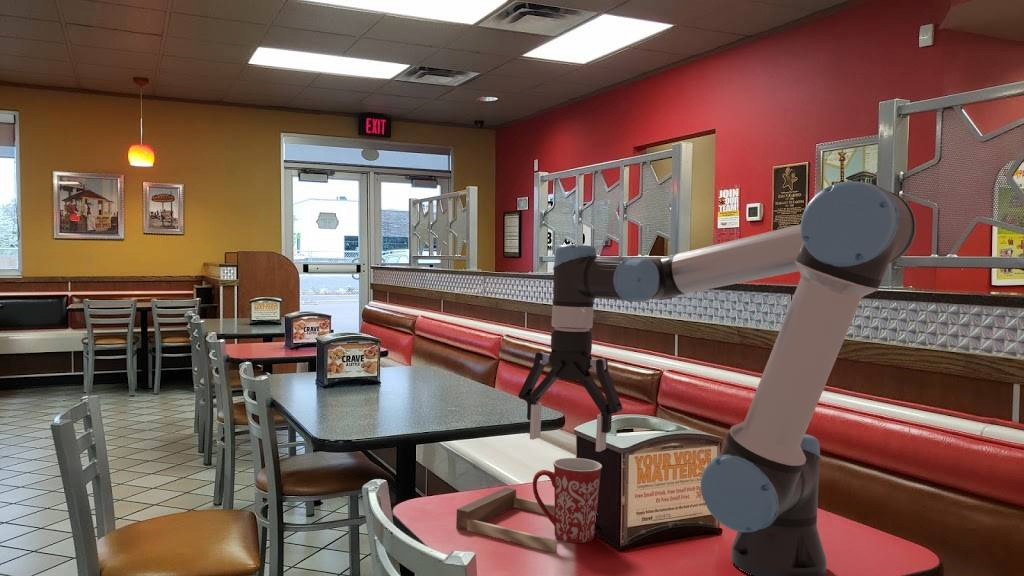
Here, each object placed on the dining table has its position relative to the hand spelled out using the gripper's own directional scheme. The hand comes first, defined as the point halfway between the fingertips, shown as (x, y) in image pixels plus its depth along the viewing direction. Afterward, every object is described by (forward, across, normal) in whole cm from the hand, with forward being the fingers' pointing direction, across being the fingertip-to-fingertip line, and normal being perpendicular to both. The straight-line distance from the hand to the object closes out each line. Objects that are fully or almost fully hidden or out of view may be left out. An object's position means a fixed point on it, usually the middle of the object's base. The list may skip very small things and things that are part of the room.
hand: (567, 444), depth 137 cm
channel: (+17, +8, 0) cm, 19 cm away
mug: (+17, 0, 0) cm, 17 cm away
